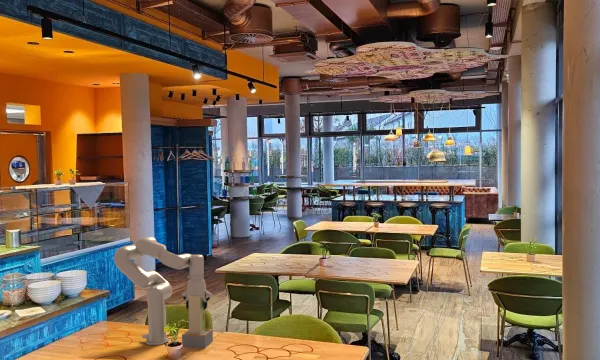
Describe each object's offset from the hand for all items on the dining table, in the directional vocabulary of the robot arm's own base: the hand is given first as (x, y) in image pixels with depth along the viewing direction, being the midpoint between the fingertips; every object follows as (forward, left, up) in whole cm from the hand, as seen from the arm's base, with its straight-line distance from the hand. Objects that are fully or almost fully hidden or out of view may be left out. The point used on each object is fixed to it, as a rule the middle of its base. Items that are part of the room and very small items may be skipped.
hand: (196, 308), depth 283 cm
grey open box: (0, 0, -19) cm, 19 cm away
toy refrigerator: (0, 0, -14) cm, 14 cm away
